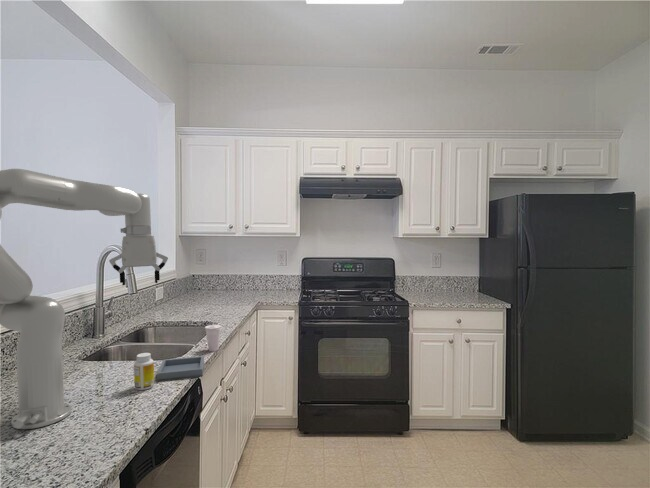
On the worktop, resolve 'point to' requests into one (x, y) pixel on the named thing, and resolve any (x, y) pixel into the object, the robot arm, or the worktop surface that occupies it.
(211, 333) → the smoothie
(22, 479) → the worktop surface
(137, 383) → the supplement bottle
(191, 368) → the slate tray
